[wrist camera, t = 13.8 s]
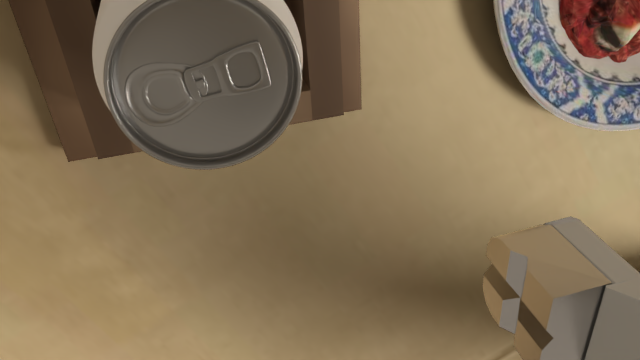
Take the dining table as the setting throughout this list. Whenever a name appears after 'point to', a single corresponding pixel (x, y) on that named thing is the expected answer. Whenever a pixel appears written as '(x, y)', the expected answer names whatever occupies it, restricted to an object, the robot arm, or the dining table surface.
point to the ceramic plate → (576, 57)
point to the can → (199, 76)
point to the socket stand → (96, 119)
